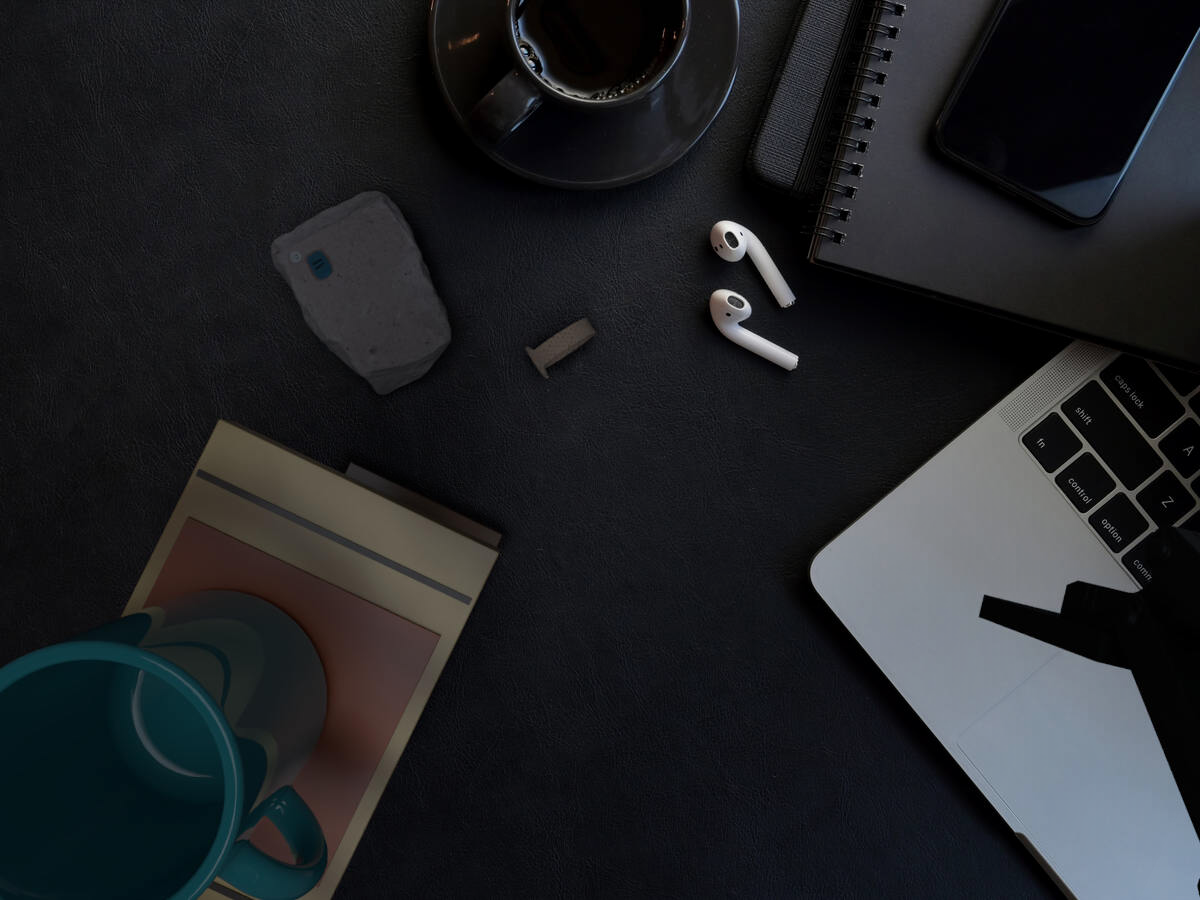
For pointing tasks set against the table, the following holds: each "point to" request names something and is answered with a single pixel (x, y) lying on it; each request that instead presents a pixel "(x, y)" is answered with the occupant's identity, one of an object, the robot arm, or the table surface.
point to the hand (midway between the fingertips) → (971, 820)
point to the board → (326, 609)
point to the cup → (161, 755)
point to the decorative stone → (366, 289)
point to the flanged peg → (560, 345)
